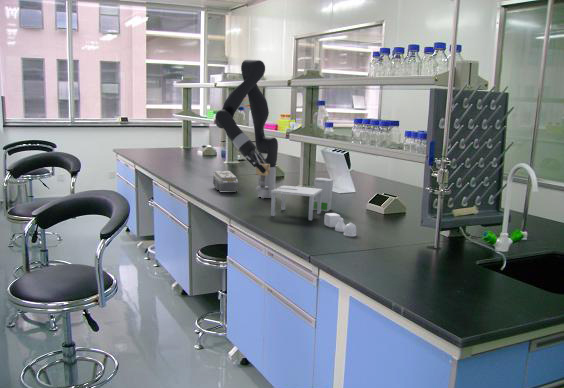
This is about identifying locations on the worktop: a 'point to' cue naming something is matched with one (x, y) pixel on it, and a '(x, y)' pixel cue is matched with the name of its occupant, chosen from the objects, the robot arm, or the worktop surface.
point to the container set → (339, 224)
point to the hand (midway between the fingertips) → (266, 171)
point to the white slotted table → (297, 191)
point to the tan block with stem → (263, 177)
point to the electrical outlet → (225, 181)
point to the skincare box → (323, 193)
